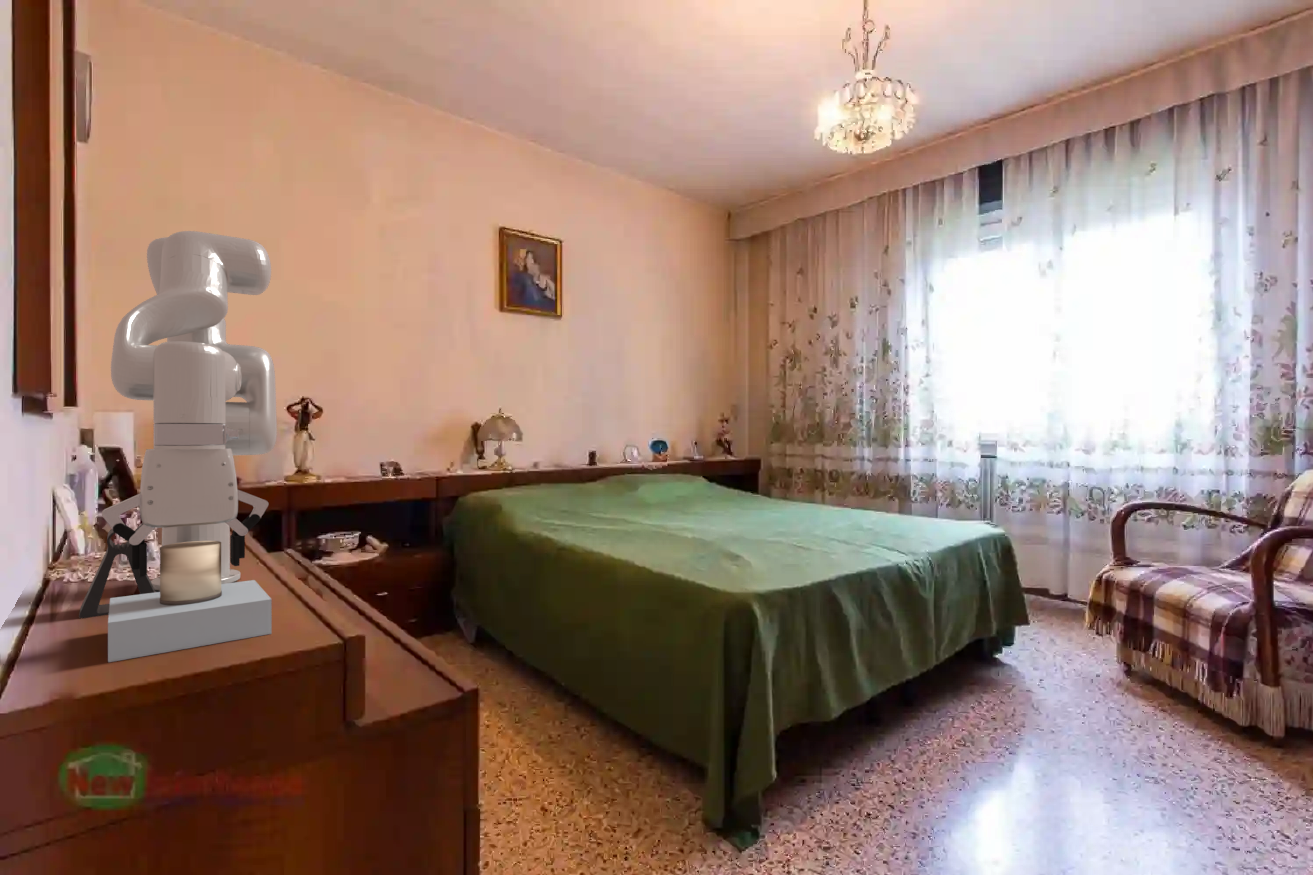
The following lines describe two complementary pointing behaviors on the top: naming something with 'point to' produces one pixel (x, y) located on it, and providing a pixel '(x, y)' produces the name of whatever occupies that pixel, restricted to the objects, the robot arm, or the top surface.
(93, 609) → the dark grey a-shaped piece
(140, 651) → the gray rectangular block
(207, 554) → the beech peg
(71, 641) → the top surface
